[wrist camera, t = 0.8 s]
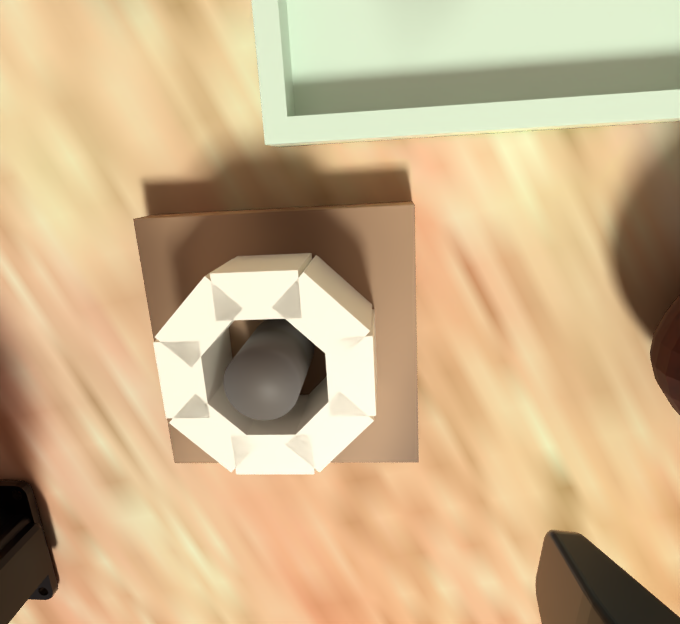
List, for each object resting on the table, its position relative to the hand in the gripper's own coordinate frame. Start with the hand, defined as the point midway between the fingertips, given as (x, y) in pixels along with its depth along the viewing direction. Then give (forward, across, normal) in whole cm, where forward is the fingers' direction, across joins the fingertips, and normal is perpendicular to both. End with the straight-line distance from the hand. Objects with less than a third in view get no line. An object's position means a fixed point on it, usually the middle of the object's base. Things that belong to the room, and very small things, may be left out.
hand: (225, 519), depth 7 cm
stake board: (+13, +2, +2) cm, 13 cm away
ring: (+12, +2, +2) cm, 12 cm away
